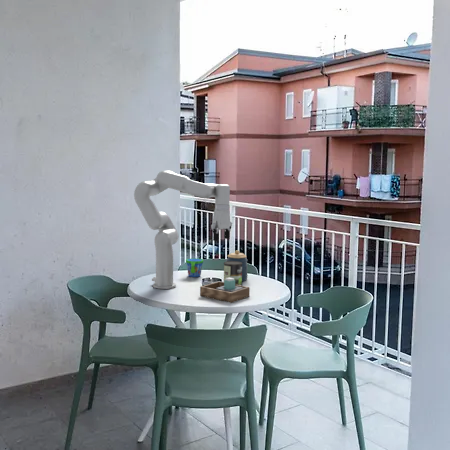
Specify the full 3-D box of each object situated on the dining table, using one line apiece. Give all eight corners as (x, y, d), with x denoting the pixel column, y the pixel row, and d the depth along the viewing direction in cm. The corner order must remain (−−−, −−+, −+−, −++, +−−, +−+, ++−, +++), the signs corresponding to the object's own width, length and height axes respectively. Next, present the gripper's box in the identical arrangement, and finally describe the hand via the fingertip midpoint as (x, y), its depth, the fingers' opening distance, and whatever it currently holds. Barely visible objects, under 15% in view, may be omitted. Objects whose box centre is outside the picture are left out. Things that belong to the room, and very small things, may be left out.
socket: (215, 295, 263) (216, 288, 263) (227, 291, 271) (227, 284, 271) (231, 299, 257) (231, 291, 257) (242, 295, 265) (243, 287, 265)
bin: (200, 296, 266) (200, 286, 265) (218, 290, 278) (218, 281, 278) (231, 302, 254) (231, 293, 253) (249, 296, 267) (249, 287, 266)
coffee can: (244, 286, 288) (244, 261, 287) (238, 290, 279) (238, 265, 277) (227, 284, 292) (227, 260, 290) (220, 288, 282) (221, 263, 281)
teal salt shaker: (224, 295, 264) (224, 278, 263) (228, 294, 267) (229, 277, 266) (230, 296, 262) (230, 279, 260) (234, 295, 265) (235, 278, 264)
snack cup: (189, 273, 321) (189, 256, 319) (205, 273, 319) (205, 257, 317) (182, 278, 305) (182, 261, 304) (199, 279, 303) (200, 262, 302)
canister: (231, 276, 314) (231, 247, 312) (250, 278, 309) (251, 249, 307) (222, 280, 302) (222, 250, 300) (242, 282, 297) (242, 252, 295)
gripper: (226, 206, 280) (225, 237, 282) (206, 208, 266) (205, 240, 268) (237, 207, 275) (236, 238, 278) (217, 209, 262) (217, 242, 264)
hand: (221, 239), depth 273 cm, fingers open, 9 cm apart
